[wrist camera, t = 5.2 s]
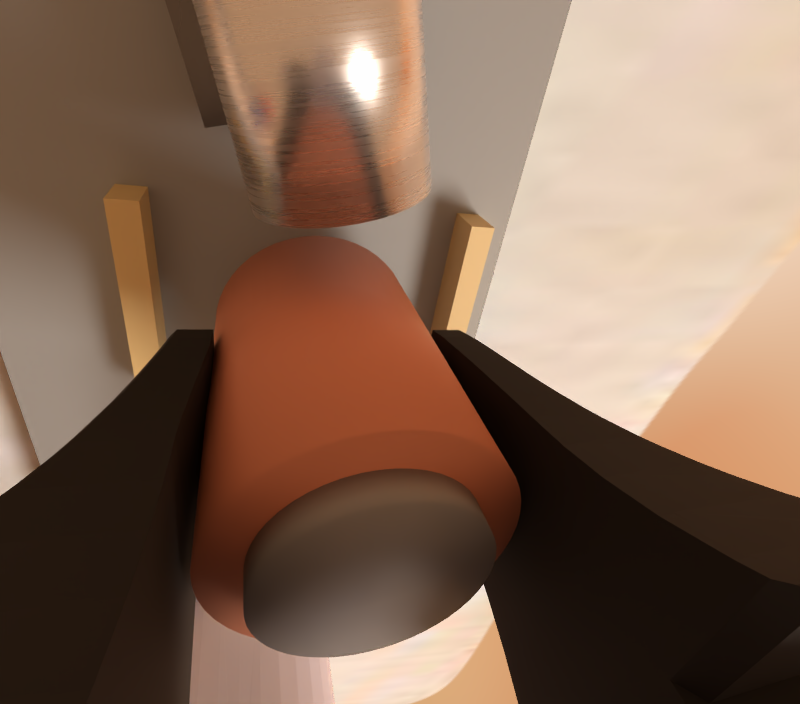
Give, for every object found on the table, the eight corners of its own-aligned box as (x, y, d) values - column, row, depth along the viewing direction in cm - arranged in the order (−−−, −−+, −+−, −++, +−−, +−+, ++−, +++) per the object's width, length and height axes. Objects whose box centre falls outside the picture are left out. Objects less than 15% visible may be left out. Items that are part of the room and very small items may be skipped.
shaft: (407, 139, 11) (489, 199, 7) (226, 168, 10) (216, 251, 6) (385, -147, 8) (499, -285, 4) (136, -131, 7) (32, -276, 4)
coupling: (397, 391, 13) (499, 637, 8) (226, 407, 12) (210, 710, 6) (415, 235, 10) (582, 439, 5) (203, 235, 9) (151, 497, 4)
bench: (423, 469, 19) (477, 604, 14) (71, 502, 15) (1, 697, 11) (560, -48, 10) (793, -99, 6) (-170, -259, 7) (-988, -814, 2)
